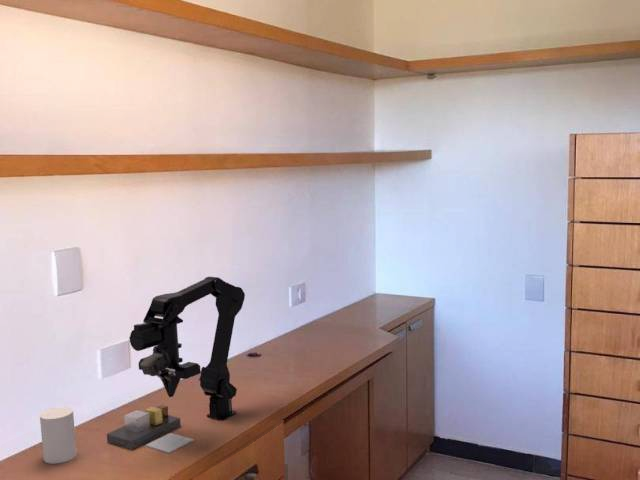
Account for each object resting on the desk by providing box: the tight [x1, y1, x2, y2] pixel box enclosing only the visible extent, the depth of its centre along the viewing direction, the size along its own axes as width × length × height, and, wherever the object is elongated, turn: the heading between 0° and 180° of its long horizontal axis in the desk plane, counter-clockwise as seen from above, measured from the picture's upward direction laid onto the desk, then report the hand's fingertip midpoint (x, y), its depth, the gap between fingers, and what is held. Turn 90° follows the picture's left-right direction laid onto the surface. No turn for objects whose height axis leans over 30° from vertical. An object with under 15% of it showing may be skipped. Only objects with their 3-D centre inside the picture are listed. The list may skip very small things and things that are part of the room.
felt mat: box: [145, 432, 194, 454], centre depth 180 cm, size 9×9×1 cm
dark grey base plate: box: [106, 404, 182, 451], centre depth 186 cm, size 18×10×6 cm, turn 146°
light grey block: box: [123, 409, 150, 433], centre depth 185 cm, size 4×5×4 cm
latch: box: [144, 406, 162, 425], centre depth 187 cm, size 2×4×4 cm, turn 57°
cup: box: [39, 406, 78, 465], centre depth 174 cm, size 8×8×12 cm
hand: (171, 396), depth 182 cm, fingers closed
